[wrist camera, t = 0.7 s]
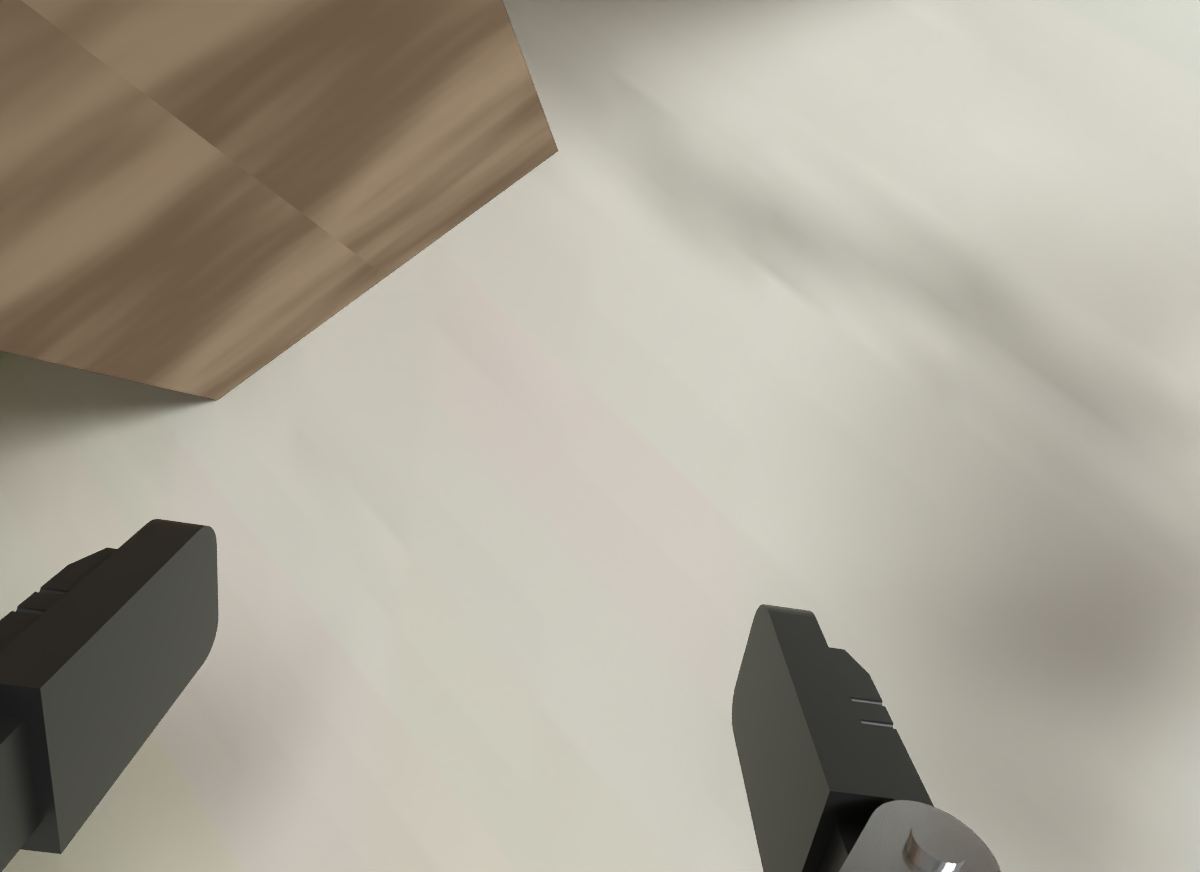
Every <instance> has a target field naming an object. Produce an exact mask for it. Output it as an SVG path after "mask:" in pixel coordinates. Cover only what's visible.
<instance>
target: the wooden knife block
mask: <svg viewBox="0 0 1200 872" xmlns="http://www.w3.org/2000/svg"><path fill="white" fill-rule="evenodd" d="M557 151H558V149H557V146H556V144H555V141H554V138H553V135H552V133H551V130H550V127H549V125H548V122H547V119H546V117H545V114H544V111H543V108H542V106H541V103H540V100H539V98H538V95H537V92H536V90H535V87H534V84H533V82H532V79H531V76H530V73H529V71H528V68H527V65H526V63H525V60H524V57H523V55H522V52H521V49H520V46H519V44H518V41H517V38H516V36H515V33H514V30H513V28H512V25H511V22H510V19H509V17H508V14H507V11H506V9H505V6H504V3H503V1H502V0H0V351H4V352H8V353H12V354H17V355H21V356H26V357H30V358H34V359H39V360H43V361H48V362H52V363H56V364H61V365H65V366H69V367H74V368H78V369H83V370H87V371H91V372H96V373H100V374H105V375H109V376H113V377H118V378H122V379H127V380H131V381H135V382H140V383H144V384H148V385H153V386H157V387H162V388H166V389H170V390H175V391H179V392H184V393H188V394H192V395H197V396H201V397H206V398H210V399H214V400H218V399H219V398H221V397H222V396H224V395H225V394H226V393H228V392H229V391H230V390H232V389H233V388H235V387H236V386H237V385H239V384H240V383H241V382H243V381H244V380H245V379H247V378H248V377H250V376H251V375H252V374H254V373H255V372H256V371H258V370H259V369H260V368H262V367H263V366H265V365H266V364H267V363H269V362H270V361H271V360H273V359H274V358H276V357H277V356H278V355H280V354H281V353H282V352H284V351H285V350H286V349H288V348H289V347H291V346H292V345H293V344H295V343H296V342H297V341H299V340H300V339H301V338H303V337H304V336H306V335H307V334H308V333H310V332H311V331H312V330H314V329H315V328H317V327H318V326H319V325H321V324H322V323H323V322H325V321H326V320H327V319H329V318H330V317H332V316H333V315H334V314H336V313H337V312H338V311H340V310H341V309H342V308H344V307H345V306H347V305H348V304H349V303H351V302H352V301H353V300H355V299H356V298H358V297H359V296H360V295H362V294H363V293H364V292H366V291H367V290H368V289H370V288H371V287H373V286H374V285H375V284H377V283H378V282H379V281H381V280H382V279H383V278H385V277H386V276H388V275H389V274H390V273H392V272H393V271H394V270H396V269H397V268H399V267H400V266H401V265H403V264H404V263H405V262H407V261H408V260H409V259H411V258H412V257H414V256H415V255H416V254H418V253H419V252H420V251H422V250H423V249H424V248H426V247H427V246H429V245H430V244H431V243H433V242H434V241H435V240H437V239H438V238H440V237H441V236H442V235H444V234H445V233H446V232H448V231H449V230H450V229H452V228H453V227H455V226H456V225H457V224H459V223H460V222H461V221H463V220H464V219H465V218H467V217H468V216H470V215H471V214H472V213H474V212H475V211H476V210H478V209H479V208H481V207H482V206H483V205H485V204H486V203H487V202H489V201H490V200H491V199H493V198H494V197H496V196H497V195H498V194H500V193H501V192H502V191H504V190H505V189H506V188H508V187H509V186H511V185H512V184H513V183H515V182H516V181H517V180H519V179H520V178H522V177H523V176H524V175H526V174H527V173H528V172H530V171H531V170H532V169H534V168H535V167H537V166H538V165H539V164H541V163H542V162H543V161H545V160H546V159H547V158H549V157H550V156H552V155H553V154H554V153H556V152H557Z"/></svg>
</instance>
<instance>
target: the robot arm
mask: <svg viewBox="0 0 1200 872" xmlns="http://www.w3.org/2000/svg"><path fill="white" fill-rule="evenodd" d="M217 626H218V583H217V543H216V535H215V532H214V530H213V529H212V528H211V527H209V526H204V525H197V524H189V523H182V522H175V521H168V520H161V519H154V520H152V521H150V522H149V523H147V524H146V525H145V526H144V527H143V528H141V529H140V530H139V531H138V532H137V533H136V534H135V535H133V536H132V537H131V538H130V539H129V540H128V541H126V542H125V543H124V544H123V545H122V546H121V547H120V548H118V549H113V548H105V549H103V550H101V551H99V552H96V553H94V554H92V555H89V556H87V557H85V558H83V559H80V560H78V561H76V562H74V563H71V564H69V565H68V566H66V567H65V568H64V569H63V570H61V571H60V572H59V573H58V574H57V575H55V576H54V577H53V578H52V579H50V580H49V581H48V582H47V583H46V584H44V585H43V586H42V587H41V589H40V592H35V593H33V594H32V595H31V596H30V597H28V598H27V599H26V600H25V601H23V602H22V603H21V604H20V605H19V606H17V611H16V612H13V611H11V612H10V613H9V614H8V615H6V616H5V617H4V618H3V619H1V620H0V872H2V870H3V869H4V868H5V867H6V865H7V864H8V863H9V862H10V861H11V859H12V858H13V857H14V856H15V854H16V853H17V852H18V851H19V849H23V850H32V851H41V852H49V853H58V854H61V853H62V852H63V851H64V849H65V848H66V847H67V845H68V844H69V843H70V841H71V840H72V839H73V837H74V836H75V834H76V833H77V832H78V830H79V829H80V828H81V826H82V825H83V824H84V822H85V821H86V820H87V818H88V817H89V816H90V814H91V813H92V812H93V810H94V809H95V808H96V806H97V805H98V804H99V802H100V801H101V800H102V798H103V797H104V796H105V794H106V793H107V792H108V790H109V789H110V788H111V786H112V785H113V784H114V782H115V781H116V780H117V778H118V777H119V776H120V774H121V773H122V772H123V770H124V769H125V767H126V766H127V765H128V763H129V762H130V761H131V759H132V758H133V757H134V755H135V754H136V753H137V751H138V750H139V749H140V747H141V746H142V745H143V743H144V742H145V741H146V739H147V738H148V737H149V735H150V734H151V733H152V731H153V730H154V729H155V727H156V726H157V725H158V723H159V722H160V721H161V719H162V718H163V717H164V715H165V714H166V713H167V711H168V710H169V709H170V707H171V706H172V705H173V703H174V702H175V700H176V699H177V698H178V696H179V695H180V694H181V692H182V691H183V690H184V688H185V687H186V686H187V684H188V683H189V682H190V680H191V679H192V678H193V676H194V675H195V674H196V672H197V671H198V670H199V668H200V667H201V666H202V664H203V663H204V661H205V660H206V658H207V656H208V655H209V652H210V650H211V648H212V645H213V642H214V639H215V635H216V631H217ZM732 725H733V733H734V737H735V742H736V747H737V751H738V756H739V760H740V765H741V770H742V774H743V779H744V784H745V788H746V793H747V797H748V802H749V807H750V811H751V816H752V820H753V825H754V830H755V834H756V839H757V843H758V848H759V853H760V857H761V862H762V866H763V871H764V872H1001V871H1000V868H999V865H998V863H997V861H996V859H995V857H994V856H993V854H992V853H991V851H990V850H989V848H988V847H987V846H986V844H985V843H984V842H983V841H982V840H981V839H980V838H979V837H978V836H977V835H976V834H975V833H974V832H973V831H972V830H971V829H970V828H969V827H967V826H966V825H965V824H963V823H962V822H961V821H959V820H958V819H956V818H955V817H953V816H951V815H950V814H948V813H946V812H944V811H942V810H940V809H938V808H935V807H934V806H933V804H932V802H931V800H930V798H929V795H928V793H927V791H926V789H925V787H924V785H923V783H922V781H921V779H920V777H919V775H918V773H917V771H916V769H915V767H914V765H913V763H912V761H911V759H910V757H909V755H908V753H907V750H906V748H905V746H904V744H903V742H902V740H901V738H900V736H899V734H898V732H897V730H896V729H893V722H892V720H891V718H890V716H889V714H888V712H887V710H886V708H885V707H884V706H882V699H881V697H880V695H879V693H878V691H877V689H876V687H875V685H874V683H873V681H872V679H871V677H870V675H869V674H868V673H867V672H866V671H865V670H864V669H863V668H862V667H861V666H860V665H859V664H858V663H857V662H856V661H855V660H854V659H853V658H852V657H851V656H850V655H849V654H848V653H847V652H846V651H845V650H843V649H836V648H829V647H828V645H827V643H826V640H825V638H824V636H823V633H822V631H821V629H820V626H819V624H818V622H817V620H816V617H815V615H814V614H813V613H812V612H811V611H807V610H799V609H792V608H785V607H778V606H771V605H761V606H759V608H758V609H757V611H756V614H755V616H754V620H753V623H752V627H751V631H750V634H749V638H748V642H747V645H746V649H745V653H744V656H743V660H742V664H741V667H740V671H739V675H738V678H737V682H736V686H735V690H734V696H733V705H732Z"/></svg>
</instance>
